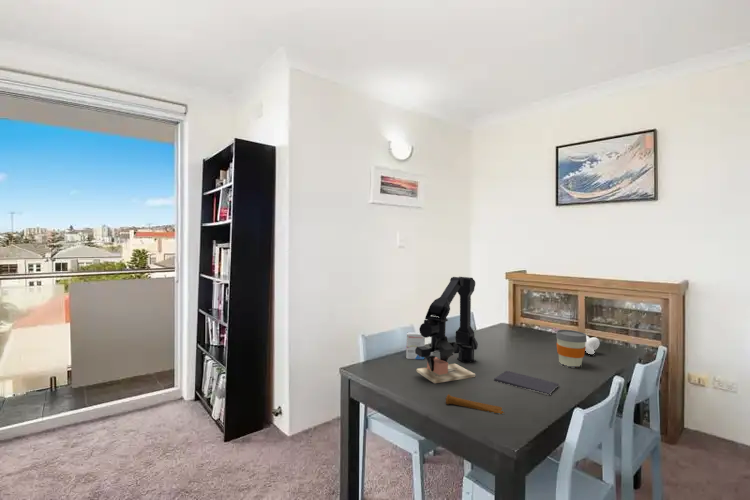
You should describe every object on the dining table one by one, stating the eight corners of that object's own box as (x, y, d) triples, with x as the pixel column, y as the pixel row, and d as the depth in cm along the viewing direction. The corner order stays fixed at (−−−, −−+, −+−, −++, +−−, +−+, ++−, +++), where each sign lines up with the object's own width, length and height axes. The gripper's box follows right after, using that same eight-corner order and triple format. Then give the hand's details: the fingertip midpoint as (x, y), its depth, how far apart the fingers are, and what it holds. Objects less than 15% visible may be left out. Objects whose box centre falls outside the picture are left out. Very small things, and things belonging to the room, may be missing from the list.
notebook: (494, 382, 151) (549, 397, 137) (494, 378, 151) (549, 393, 137) (506, 374, 161) (559, 387, 147) (506, 370, 161) (559, 383, 147)
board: (455, 366, 168) (455, 363, 168) (475, 376, 155) (475, 374, 155) (416, 371, 160) (416, 368, 160) (434, 383, 147) (434, 380, 147)
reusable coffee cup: (567, 370, 166) (569, 336, 165) (549, 361, 178) (550, 330, 178) (592, 369, 168) (593, 336, 168) (572, 360, 181) (573, 329, 180)
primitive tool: (503, 409, 127) (503, 399, 127) (504, 416, 121) (504, 406, 121) (446, 401, 132) (446, 392, 132) (444, 408, 126) (445, 398, 126)
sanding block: (435, 368, 160) (435, 357, 160) (447, 374, 153) (448, 362, 153) (427, 370, 158) (427, 358, 158) (438, 376, 151) (439, 364, 151)
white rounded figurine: (590, 350, 198) (591, 333, 198) (605, 357, 186) (606, 339, 186) (570, 349, 198) (570, 333, 198) (583, 357, 186) (584, 339, 186)
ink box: (423, 356, 181) (424, 332, 181) (424, 359, 176) (424, 334, 176) (406, 355, 182) (406, 331, 182) (406, 358, 177) (406, 334, 177)
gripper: (429, 339, 144) (428, 379, 144) (468, 336, 152) (467, 374, 152) (415, 333, 154) (414, 370, 155) (452, 329, 162) (451, 365, 162)
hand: (437, 370), depth 156 cm, fingers closed on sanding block, 5 cm apart
